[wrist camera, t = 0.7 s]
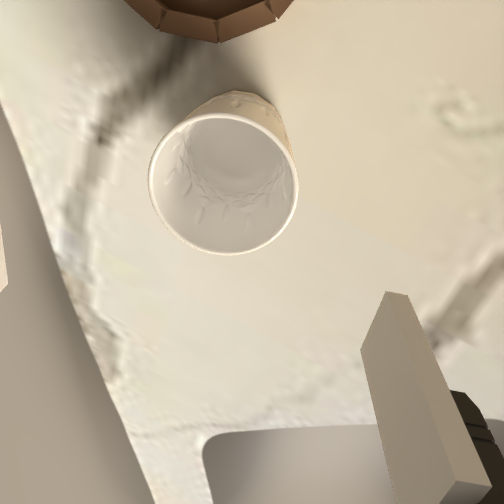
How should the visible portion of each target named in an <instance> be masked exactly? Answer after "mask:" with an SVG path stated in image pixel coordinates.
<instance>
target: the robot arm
mask: <svg viewBox="0 0 504 504" xmlns="http://www.w3.org/2000/svg"><path fill="white" fill-rule="evenodd" d="M7 284H8V279H7V271H6V264H5V257H4V248H3V241H2V234H1V225H0V291H1V290H2V289H3V288H4V287H5V286H6V285H7ZM360 351H361V355H362V359H363V364H364V368H365V372H366V376H367V381H368V385H369V389H370V394H371V398H372V402H373V407H374V411H375V415H376V419H377V424H378V428H379V432H380V436H381V440H382V445H383V449H384V453H385V458H386V462H387V466H388V471H389V475H390V479H391V484H392V488H393V492H394V496H395V501H396V504H504V458H503V456H502V454H501V452H500V450H499V448H498V446H497V445H496V444H495V440H494V438H493V436H492V434H491V432H490V430H488V426H487V424H486V422H485V420H484V418H483V416H482V414H481V412H480V410H479V408H478V407H477V406H476V405H475V404H474V403H473V402H472V400H471V399H470V398H469V397H468V396H467V395H466V394H465V393H463V392H457V391H452V390H449V388H448V386H447V383H446V381H445V379H444V377H443V374H442V372H441V370H440V367H439V365H438V363H437V361H436V358H435V356H434V354H433V352H432V349H431V347H430V345H429V343H428V340H427V338H426V336H425V334H424V331H423V329H422V327H421V325H420V322H419V320H418V318H417V316H416V313H415V311H414V309H413V307H412V304H411V302H410V300H409V298H408V295H403V294H398V293H393V292H388V291H386V292H385V294H384V297H383V299H382V301H381V304H380V306H379V308H378V310H377V313H376V315H375V317H374V320H373V322H372V324H371V326H370V329H369V331H368V333H367V336H366V338H365V340H364V342H363V345H362V347H361V349H360Z"/></svg>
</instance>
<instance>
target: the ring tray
mask: <svg viewBox="0 0 504 504" xmlns="http://www.w3.org/2000/svg"><path fill="white" fill-rule="evenodd" d="M124 1H125V2H127V3H128V4H129V5H130V6H131V7H132V8H133V9H134V10H135V11H136V12H138V13H139V14H140V15H141V16H142V17H143V18H144V19H145V20H146V21H148V22H149V23H150V24H151V25H152V26H153V27H154V28H155V29H160V31H162V32H166V33H171V34H176V35H180V36H185V37H189V38H194V39H199V40H203V41H208V42H212V43H218V42H220V43H222V42H225V41H227V40H230V39H232V38H235V37H237V36H240V35H242V34H245V33H248V32H251V31H253V30H255V29H258V28H260V27H263V26H265V25H268V24H270V23H273V22H276V20H275V17H277V18H278V19H279V18H280V17H281V16H282V14H283V13H284V12H285V10H286V9H287V8H288V7H289V5H290V4H291V3H292V1H293V0H124Z"/></svg>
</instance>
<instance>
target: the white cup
mask: <svg viewBox="0 0 504 504" xmlns="http://www.w3.org/2000/svg"><path fill="white" fill-rule="evenodd" d="M148 189H149V195H150V198H151V202H152V205H153V207H154V209H155V211H156V213H157V215H158V217H159V218H160V220H161V221H162V223H163V224H164V225H165V226H166V228H167V229H168V230H169V231H170V232H171V233H172V234H173V235H175V236H176V237H177V238H178V239H180V240H181V241H183V242H184V243H186V244H187V245H189V246H191V247H193V248H195V249H198V250H201V251H204V252H207V253H211V254H217V255H238V254H244V253H248V252H251V251H254V250H257V249H259V248H261V247H263V246H265V245H267V244H268V243H270V242H271V241H272V240H274V239H275V238H276V237H277V236H278V235H279V234H280V233H281V232H282V231H283V230H284V229H285V227H286V226H287V224H288V223H289V221H290V220H291V218H292V216H293V213H294V211H295V208H296V204H297V200H298V190H299V186H298V176H297V171H296V167H295V163H294V159H293V154H292V149H291V145H290V142H289V138H288V135H287V132H286V130H285V127H284V124H283V122H282V121H281V119H280V117H279V115H278V113H277V111H276V110H275V108H274V106H273V105H271V104H270V103H268V102H267V101H265V100H264V99H263V98H261V97H260V96H258V95H257V94H255V93H249V92H242V91H235V90H233V91H230V92H227V93H224V94H221V95H218V96H215V97H213V98H211V99H210V100H209V101H207V102H205V103H203V104H202V105H201V106H199V107H198V108H196V109H195V110H194V111H192V112H191V113H190V114H189V115H187V116H186V117H185V118H184V119H183V120H182V121H181V122H179V123H178V124H177V125H176V126H175V127H173V128H172V129H171V130H170V131H169V132H168V133H167V134H166V135H165V136H164V137H163V138H162V139H161V141H160V142H159V144H158V145H157V147H156V149H155V151H154V153H153V155H152V158H151V161H150V165H149V170H148Z"/></svg>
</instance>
